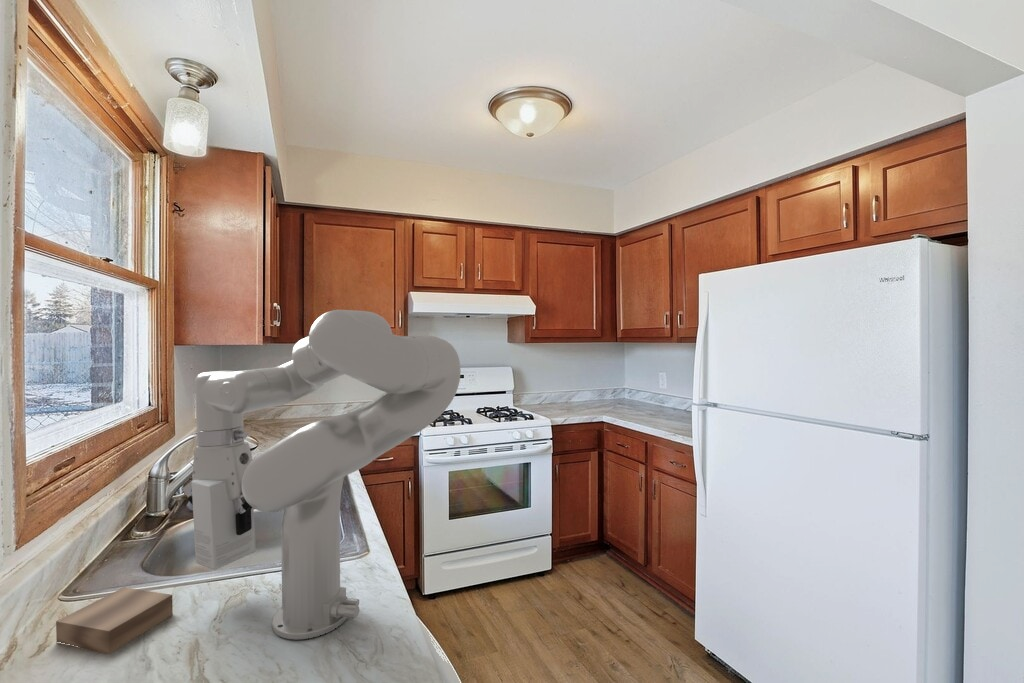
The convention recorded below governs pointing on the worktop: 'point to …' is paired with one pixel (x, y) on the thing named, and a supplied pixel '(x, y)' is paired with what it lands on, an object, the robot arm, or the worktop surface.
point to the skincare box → (218, 526)
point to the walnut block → (114, 619)
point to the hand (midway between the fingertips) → (224, 530)
